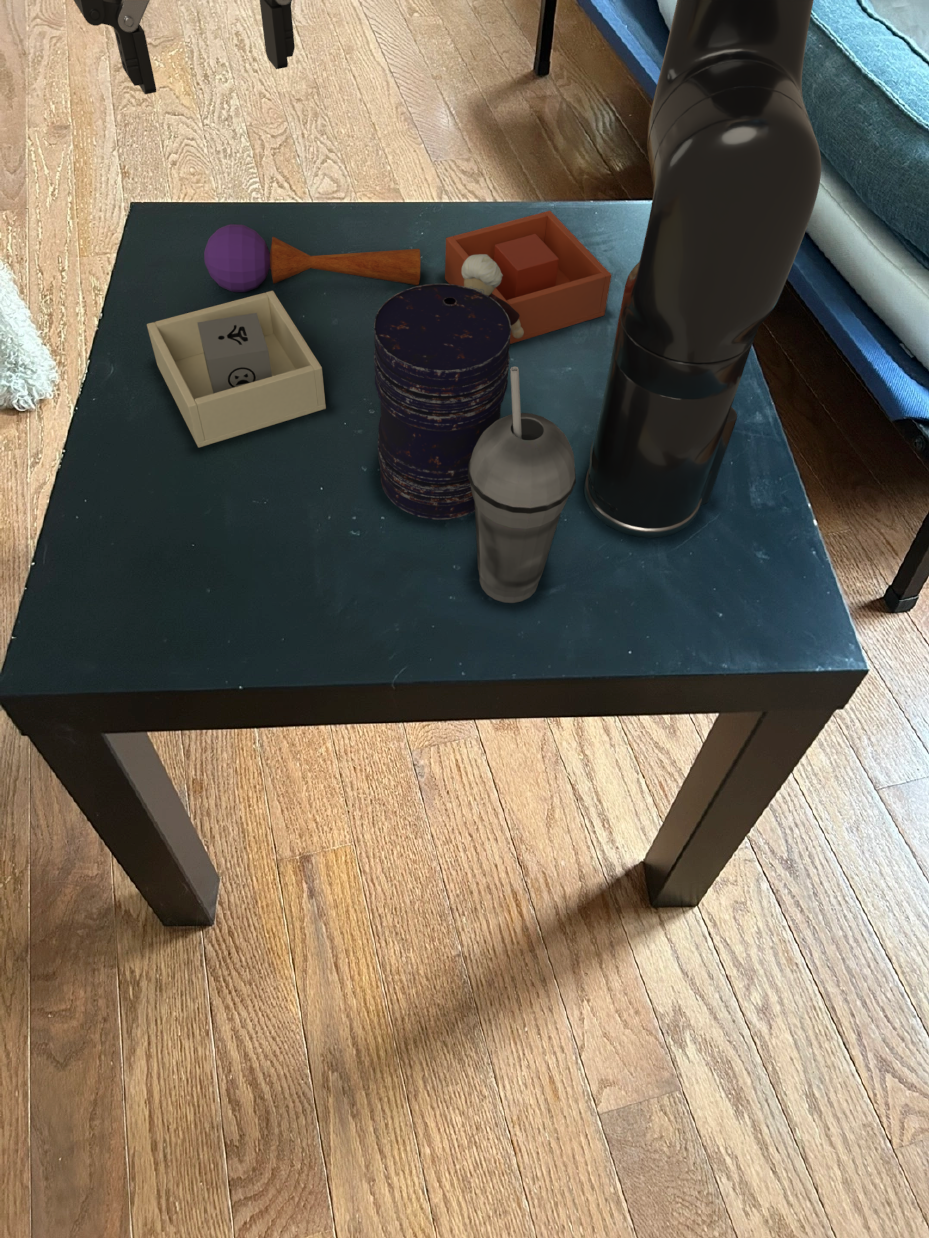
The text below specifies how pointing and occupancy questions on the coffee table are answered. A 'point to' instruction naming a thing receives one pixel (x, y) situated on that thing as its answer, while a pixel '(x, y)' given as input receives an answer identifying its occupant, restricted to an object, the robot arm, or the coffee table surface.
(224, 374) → the dice cube
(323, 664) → the coffee table surface
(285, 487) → the coffee table surface
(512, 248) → the rust block
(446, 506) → the navy cylindrical canister
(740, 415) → the coffee table surface
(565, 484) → the beverage cup
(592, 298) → the terracotta bin
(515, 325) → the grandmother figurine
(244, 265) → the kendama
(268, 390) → the cream bin
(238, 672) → the coffee table surface
